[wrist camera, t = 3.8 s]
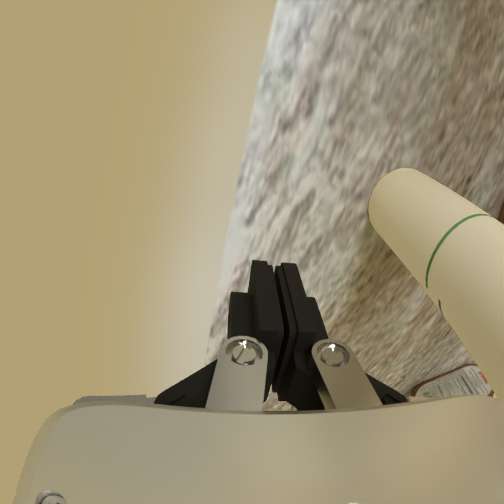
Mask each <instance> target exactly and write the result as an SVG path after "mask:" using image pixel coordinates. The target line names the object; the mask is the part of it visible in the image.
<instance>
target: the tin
mask: <svg viewBox="0 0 504 504" xmlns="http://www.w3.org/2000/svg"><path fill="white" fill-rule="evenodd" d="M466 394H477V395H485V396H490V397H493V394H494V391H493V390H492V388H491V386H490V385H489V383H488V381H487V380H486V378H485V377H484V375H483V373H482V372H481V370H480V369H479V367H478V366H477V364H468V365H464V366H462V367H459V368H457V369H454V370H452V371H450V372H447V373H445V374H442V375H440V376H437V377H435V378H432V379H429V380H427V381H424V382H422V383H421V384H419V385H418V386H417V387H416V388H415V389H414V391H413V392H412V395H411V396H414V397H427V398H440V397H447V396H455V395H466Z"/></svg>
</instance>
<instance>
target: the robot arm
mask: <svg viewBox="0 0 504 504" xmlns="http://www.w3.org/2000/svg"><path fill="white" fill-rule="evenodd" d="M271 384H272V391H273V392H277V393H278V401H287V402H288V403H290V404H291V405H292V406H291V411H262V409H263V403H264V402H265V401H266V400H267V397H268V393H269V390H270V386H271ZM13 504H504V402H503V401H501V400H499V399H497V398H494V397H490V396H485V395H477V394H466V395H455V396H447V397H440V398H427V397H414V396H409V397H408V398H407V399H406V398H405V397H404V396H403V395H402V394H400V393H399V392H397V391H396V390H394V389H392V388H390V387H389V386H387V385H385V384H383V383H382V382H380V381H378V380H376V379H375V378H373V377H371V376H370V375H368V374H366V373H365V372H364V371H363V369H362V367H361V365H360V364H359V362H358V360H357V358H356V357H355V355H354V353H353V352H352V350H351V349H350V348H349V347H348V346H347V345H345V344H344V343H342V342H340V341H337V340H333V339H328V335H327V332H326V329H325V326H324V323H323V320H322V317H321V314H320V311H319V308H318V305H317V302H316V300H315V298H314V297H306V294H305V290H304V287H303V284H302V281H301V278H300V274H299V271H298V268H297V265H296V264H294V263H281V265H280V266H276V267H275V271H274V272H273V266H272V265H268V263H267V261H258V260H253V261H252V266H251V273H250V280H249V287H248V293H242V292H231V295H230V304H229V314H228V337H227V340H226V341H225V342H224V343H223V344H222V346H221V349H220V353H219V357H218V359H217V360H215V361H213V362H212V363H210V364H209V365H207V366H205V367H204V368H202V369H200V370H199V371H197V372H196V373H194V374H192V375H190V376H189V377H187V378H185V379H184V380H182V381H180V382H179V383H177V384H175V385H173V386H172V387H170V388H168V389H166V390H165V391H163V392H162V393H160V394H159V395H158V396H157V397H154V398H146V395H127V396H86V397H82V398H80V399H78V400H76V401H75V402H74V404H73V405H70V406H67V407H64V408H61V409H59V410H57V411H56V412H54V413H53V414H52V415H50V416H49V417H48V418H47V420H46V421H45V422H44V423H43V425H42V426H41V428H40V430H39V431H38V433H37V435H36V437H35V439H34V441H33V443H32V446H31V448H30V450H29V452H28V455H27V457H26V460H25V463H24V467H23V469H22V472H21V475H20V479H19V482H18V486H17V489H16V493H15V497H14V501H13Z"/></svg>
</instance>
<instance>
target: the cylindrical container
mask: <svg viewBox="0 0 504 504" xmlns="http://www.w3.org/2000/svg"><path fill="white" fill-rule="evenodd" d="M368 213H369V219H370V222H371V224H372V226H373V228H374V229H375V231H376V232H377V233H378V234H379V235H380V236H381V238H382V239H383V240H384V241H385V242H386V243H387V245H388V246H389V247H390V248H391V249H392V251H393V252H394V253H395V254H396V255H397V257H398V258H399V259H400V260H401V261H402V263H403V264H404V265H405V266H406V268H407V269H408V270H409V271H410V273H411V274H412V275H413V276H414V278H415V279H416V280H417V282H418V283H419V284H420V285H421V287H422V288H423V289H424V291H425V292H426V293H427V294H428V296H429V297H430V298H431V300H432V301H433V302H434V304H435V305H436V306H437V308H438V309H439V311H440V312H441V313H442V315H443V316H444V317H445V319H446V320H447V322H448V323H449V324H450V326H451V327H452V329H453V330H454V331H455V333H456V334H457V336H458V337H459V339H460V340H461V342H462V343H463V344H464V346H465V347H466V349H467V350H468V352H469V353H470V355H471V356H472V358H473V359H474V361H475V362H476V364H477V366H478V367H479V369H480V370H481V372H482V373H483V375H484V377H485V378H486V380H487V381H488V383H489V385H490V386H491V388H492V390H493V391H494V393H495V394H496V396H497V398H498V399H499V400H501V401H503V402H504V225H503V224H502V223H501V222H499V221H498V220H496V219H495V218H493V217H492V216H491V215H489V214H488V213H486V212H485V211H483V210H482V209H480V208H479V207H477V206H476V205H474V204H473V203H471V202H470V201H468V200H467V199H465V198H463V197H462V196H460V195H459V194H457V193H455V192H454V191H452V190H450V189H449V188H447V187H446V186H444V185H442V184H440V183H439V182H437V181H435V180H434V179H432V178H430V177H428V176H427V175H425V174H423V173H421V172H419V171H417V170H415V169H411V168H400V169H396V170H393V171H391V172H389V173H388V174H386V175H385V176H384V177H382V179H381V180H380V181H379V182H378V183H377V184H376V186H375V188H374V189H373V191H372V194H371V196H370V200H369V205H368Z"/></svg>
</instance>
